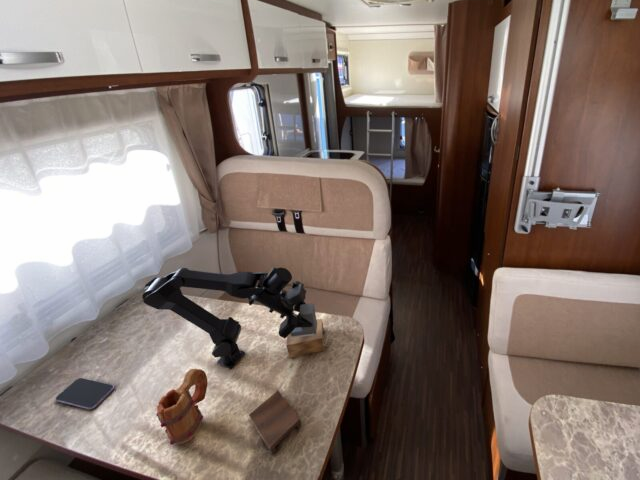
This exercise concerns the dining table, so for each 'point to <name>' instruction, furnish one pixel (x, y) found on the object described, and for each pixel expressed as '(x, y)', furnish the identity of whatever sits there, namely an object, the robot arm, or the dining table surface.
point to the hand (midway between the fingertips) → (312, 320)
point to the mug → (183, 408)
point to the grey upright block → (308, 314)
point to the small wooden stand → (274, 420)
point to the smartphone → (85, 393)
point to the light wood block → (306, 342)
